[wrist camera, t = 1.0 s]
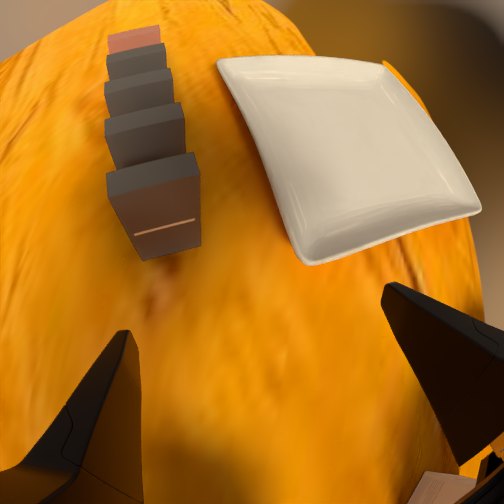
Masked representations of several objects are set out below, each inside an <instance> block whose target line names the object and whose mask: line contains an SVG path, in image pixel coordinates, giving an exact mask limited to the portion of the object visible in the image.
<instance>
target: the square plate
mask: <svg viewBox="0 0 504 504" xmlns="http://www.w3.org/2000/svg"><path fill="white" fill-rule="evenodd" d="M216 65H217V68H218V70H219V72H220V74H221V76H222V78H223V80H224V81H225V83H226V85H227V87H228V89H229V91H230V92H231V94H232V96H233V98H234V100H235V102H236V104H237V106H238V108H239V110H240V112H241V114H242V116H243V118H244V120H245V122H246V124H247V126H248V128H249V131H250V133H251V135H252V138H253V140H254V142H255V145H256V147H257V150H258V152H259V155H260V157H261V160H262V163H263V165H264V168H265V171H266V174H267V177H268V179H269V182H270V185H271V188H272V191H273V194H274V197H275V199H276V202H277V205H278V208H279V211H280V214H281V217H282V220H283V223H284V226H285V229H286V231H287V234H288V237H289V240H290V242H291V245H292V247H293V250H294V252H295V254H296V256H297V258H298V259H299V260H300V261H301V262H303V263H304V264H305V265H308V266H313V265H318V264H323V263H327V262H329V261H333V260H336V259H340V258H343V257H345V256H348V255H351V254H353V253H356V252H359V251H361V250H364V249H367V248H370V247H372V246H375V245H378V244H381V243H383V242H386V241H388V240H392V239H394V238H397V237H400V236H402V235H405V234H408V233H411V232H414V231H417V230H420V229H424V228H427V227H430V226H433V225H437V224H441V223H445V222H448V221H452V220H457V219H460V218H464V217H468V216H472V215H475V214H477V213H479V212H480V211H481V210H482V206H481V203H480V201H479V199H478V197H477V195H476V193H475V191H474V189H473V187H472V185H471V183H470V181H469V179H468V177H467V176H466V174H465V172H464V170H463V169H462V167H461V165H460V163H459V161H458V160H457V158H456V157H455V155H454V153H453V152H452V150H451V148H450V147H449V145H448V144H447V142H446V140H445V139H444V138H443V136H442V135H441V133H440V132H439V130H438V129H437V127H436V126H435V124H434V123H433V122H432V120H431V119H430V118H429V116H428V115H427V114H426V112H425V111H424V110H423V108H422V107H421V106H420V105H419V103H418V102H417V101H416V100H415V98H414V97H413V96H412V95H411V94H410V93H409V91H408V90H407V89H406V88H405V87H404V86H403V85H402V84H401V82H400V81H399V80H398V79H397V78H396V77H395V76H394V75H393V74H392V73H391V72H390V71H389V70H388V69H387V68H386V67H385V66H383V65H381V64H377V63H371V62H364V61H358V60H350V59H343V58H333V57H320V56H303V55H262V56H244V57H233V58H223V59H219V60H217V61H216Z"/></svg>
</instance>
